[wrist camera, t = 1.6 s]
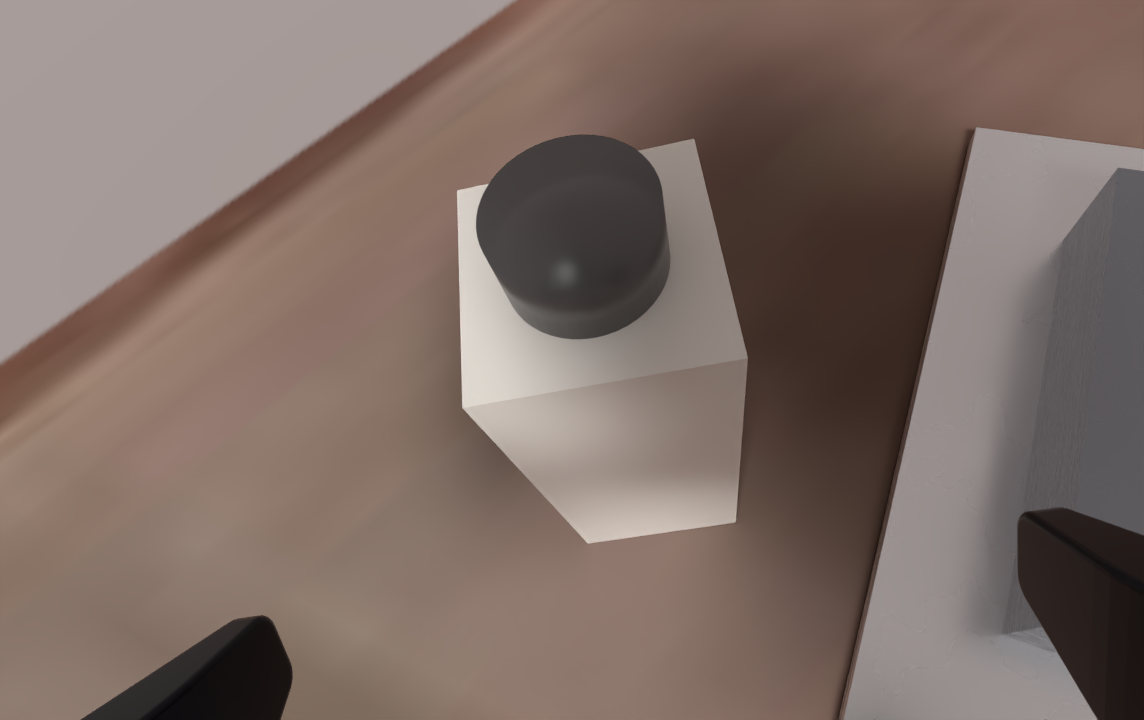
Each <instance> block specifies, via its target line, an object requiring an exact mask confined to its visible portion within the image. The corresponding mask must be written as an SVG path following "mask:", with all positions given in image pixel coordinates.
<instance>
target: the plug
mask: <svg viewBox="0 0 1144 720" xmlns="http://www.w3.org/2000/svg"><path fill="white" fill-rule="evenodd" d="M457 205H458V246H459V288H460V330H461V372H462V408H463V409H464V410H465V411H466V412H467V413H468V415H469V416H470V417H471V418H472V419H473V420H474V421H475V422H476V423H477V424H478V425H479V426H480V428H481V429H482V430H483V431H484V432H485V433H486V434H487V435H488V436H489V437H490V438H491V439H492V440H493V442H494V443H495V444H496V445H497V446H498V447H499V448H500V449H501V450H502V451H503V452H504V453H505V455H506V456H507V457H508V458H509V459H510V460H511V461H512V462H513V463H514V464H515V465H516V466H517V467H518V469H519V470H520V471H521V472H522V473H523V474H524V475H525V476H526V477H527V478H528V479H529V480H530V482H531V483H532V484H533V485H534V486H535V487H536V488H537V489H538V490H539V491H540V492H541V493H542V494H543V496H544V497H545V498H546V499H547V500H548V501H549V502H550V503H551V504H552V505H553V506H554V507H555V509H556V510H557V511H558V512H559V513H560V514H561V515H562V516H563V517H564V518H565V519H566V520H567V521H568V523H569V524H570V525H571V526H572V527H573V528H574V529H575V530H576V531H577V532H578V533H579V534H580V536H581V537H582V538H583V539H584V540H585V541H586V542H587V543H595V542H602V541H609V540H616V539H623V538H630V537H637V536H644V535H651V534H658V533H665V532H672V531H679V530H686V529H693V528H700V527H707V526H714V525H721V524H728V523H736V512H737V498H738V485H739V471H740V458H741V444H742V431H743V417H744V404H745V391H746V377H747V364H748V357H747V352H746V348H745V344H744V340H743V336H742V332H741V328H740V324H739V320H738V316H737V312H736V308H735V303H734V299H733V295H732V291H731V287H730V283H729V279H728V275H727V271H726V267H725V263H724V259H723V255H722V250H721V246H720V242H719V238H718V234H717V230H716V226H715V222H714V218H713V214H712V210H711V206H710V202H709V197H708V193H707V189H706V185H705V181H704V177H703V173H702V169H701V165H700V161H699V157H698V153H697V149H696V144H695V140H694V139H690V140H685V141H681V142H676V143H671V144H667V145H662V146H658V147H653V148H649V149H644V150H640V151H637V150H636V149H634V148H633V147H631V146H629V145H627V144H626V143H623V142H621V141H618V140H616V139H612V138H608V137H604V136H597V135H571V136H565V137H559V138H556V139H552V140H548V141H545V142H543V143H540V144H538V145H535V146H533V147H531V148H529V149H527V150H525V151H524V152H522V153H521V154H519V155H517V156H516V157H515V158H513V159H512V160H511V161H509V162H508V163H507V164H506V165H505V166H504V167H503V168H502V169H501V170H500V171H499V172H498V173H497V174H496V175H495V176H494V178H493V179H492V180H491V182H490V183H489V184H485V185H481V186H476V187H471V188H467V189H462V190H458V191H457Z"/></svg>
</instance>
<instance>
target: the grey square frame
mask: <svg viewBox="0 0 1144 720" xmlns="http://www.w3.org/2000/svg"><path fill="white" fill-rule="evenodd" d="M1054 507H1064V508H1068V509H1070V510H1073V511H1076V512H1079V513H1082V514H1085V515H1087V516H1090V517H1093V518H1096V519H1099V520H1102V521H1105V522H1107V523H1110V524H1113V525H1116V526H1119V527H1122V528H1125V529H1127V530H1130V531H1133V532H1136V533H1139V534H1142V535H1144V149H1138V148H1131V147H1123V146H1115V145H1108V144H1100V143H1092V142H1085V141H1077V140H1069V139H1062V138H1054V137H1047V136H1039V135H1031V134H1024V133H1016V132H1008V131H1001V130H993V129H985V128H978V127H976V129H975V132H974V134H973V136H972V138H971V141H970V143H969V146H968V150H967V155H966V159H965V163H964V168H963V172H962V177H961V181H960V185H959V190H958V194H957V199H956V203H955V207H954V212H953V216H952V221H951V225H950V230H949V234H948V238H947V243H946V247H945V252H944V256H943V260H942V265H941V269H940V274H939V278H938V282H937V287H936V291H935V296H934V300H933V305H932V309H931V313H930V318H929V322H928V327H927V331H926V335H925V340H924V344H923V349H922V353H921V357H920V362H919V366H918V371H917V375H916V380H915V384H914V388H913V393H912V397H911V402H910V406H909V410H908V415H907V419H906V424H905V428H904V432H903V437H902V441H901V446H900V450H899V455H898V459H897V463H896V468H895V472H894V477H893V481H892V485H891V490H890V494H889V499H888V503H887V507H886V512H885V516H884V521H883V525H882V530H881V534H880V538H879V543H878V547H877V552H876V556H875V560H874V565H873V569H872V574H871V578H870V582H869V587H868V591H867V596H866V600H865V604H864V609H863V613H862V618H861V622H860V627H859V631H858V635H857V640H856V644H855V649H854V653H853V657H852V662H851V666H850V671H849V675H848V679H847V684H846V688H845V693H844V697H843V702H842V706H841V710H840V715H839V719H838V720H1097V718H1096V716H1095V715H1094V713H1093V712H1092V710H1091V708H1090V707H1089V705H1088V704H1087V702H1086V700H1085V698H1084V697H1083V695H1082V693H1081V692H1080V690H1079V688H1078V687H1077V685H1076V683H1075V682H1074V680H1073V678H1072V676H1071V675H1070V673H1069V671H1068V670H1067V668H1066V666H1065V665H1064V663H1063V661H1062V660H1061V658H1060V656H1059V655H1058V653H1057V651H1056V649H1055V648H1054V646H1053V644H1052V643H1051V641H1050V639H1049V638H1048V636H1047V634H1046V633H1045V631H1044V629H1043V628H1042V626H1041V624H1040V622H1039V621H1038V619H1037V617H1036V616H1035V614H1034V612H1033V611H1032V609H1031V607H1030V606H1029V604H1028V602H1027V600H1026V599H1025V597H1024V595H1023V593H1022V590H1021V587H1020V584H1019V580H1018V572H1017V524H1018V519H1019V517H1020V516H1021V515H1022V514H1023V513H1024V512H1026V511H1032V510H1039V509H1046V508H1054Z"/></svg>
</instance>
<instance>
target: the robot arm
mask: <svg viewBox="0 0 1144 720" xmlns="http://www.w3.org/2000/svg"><path fill="white" fill-rule="evenodd" d="M1017 572H1018V580H1019V584H1020V587H1021V590H1022V593H1023V595H1024V597H1025V599H1026V600H1027V602H1028V604H1029V606H1030V607H1031V609H1032V611H1033V612H1034V614H1035V616H1036V617H1037V619H1038V621H1039V622H1040V624H1041V626H1042V628H1043V629H1044V631H1045V633H1046V634H1047V636H1048V638H1049V639H1050V641H1051V643H1052V644H1053V646H1054V648H1055V649H1056V651H1057V653H1058V655H1059V656H1060V658H1061V660H1062V661H1063V663H1064V665H1065V666H1066V668H1067V670H1068V671H1069V673H1070V675H1071V676H1072V678H1073V680H1074V682H1075V683H1076V685H1077V687H1078V688H1079V690H1080V692H1081V693H1082V695H1083V697H1084V698H1085V700H1086V702H1087V704H1088V705H1089V707H1090V708H1091V710H1092V712H1093V713H1094V715H1095V716H1096V718H1097V720H1144V535H1142V534H1139V533H1136V532H1133V531H1130V530H1127V529H1125V528H1122V527H1119V526H1116V525H1113V524H1110V523H1107V522H1105V521H1102V520H1099V519H1096V518H1093V517H1090V516H1087V515H1085V514H1082V513H1079V512H1076V511H1073V510H1070V509H1068V508H1064V507H1054V508H1046V509H1039V510H1032V511H1026V512H1024V513H1023V514H1022V515H1021V516H1020V517H1019V519H1018V524H1017ZM292 678H293V676H292V666H291V663H290V660H289V658H288V655H287V653H286V651H285V648H284V646H283V644H282V641H281V639H280V637H279V634H278V632H277V630H276V627H275V625H274V623H273V621H272V620H271V619H270V618H268V617H266V616H263V615H261V616H253V617H246V618H239V619H235V620H233V621H231V622H229V623H228V624H226V625H225V626H223V627H222V628H220V629H218V630H217V631H215V632H214V633H212V634H211V635H209V636H208V637H206V638H205V639H203V640H202V641H200V642H199V643H197V644H196V645H194V646H192V647H191V648H189V649H188V650H186V651H185V652H183V653H182V654H180V655H179V656H177V657H176V658H174V659H173V660H171V661H170V662H168V663H167V664H165V665H163V666H162V667H160V668H159V669H157V670H156V671H154V672H153V673H151V674H150V675H148V676H147V677H145V678H144V679H142V680H141V681H139V682H137V683H136V684H134V685H133V686H131V687H130V688H128V689H127V690H125V691H124V692H122V693H121V694H119V695H118V696H116V697H115V698H113V699H112V700H110V701H108V702H107V703H105V704H104V705H102V706H101V707H99V708H98V709H96V710H95V711H93V712H92V713H90V714H89V715H87V716H86V717H84V718H82V719H81V720H281V717H282V714H283V710H284V707H285V704H286V701H287V698H288V695H289V692H290V689H291V685H292Z"/></svg>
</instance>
